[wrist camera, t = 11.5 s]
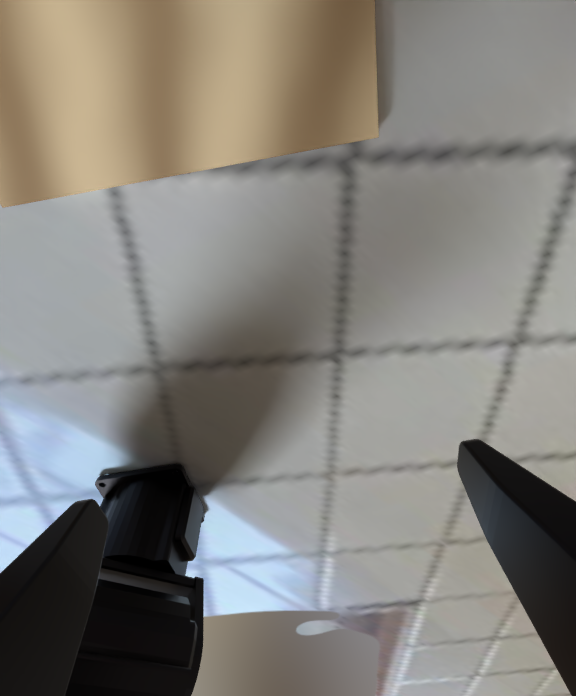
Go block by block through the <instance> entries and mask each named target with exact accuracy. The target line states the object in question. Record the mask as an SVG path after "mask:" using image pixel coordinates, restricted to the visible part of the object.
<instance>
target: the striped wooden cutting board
mask: <svg viewBox="0 0 576 696" xmlns="http://www.w3.org/2000/svg"><path fill="white" fill-rule="evenodd" d="M378 137H379V132H378V99H377V65H376V32H375V0H0V204H1V206H2V208H4V207H9V206H15V205H20V204H25V203H31V202H36V201H41V200H47V199H52V198H57V197H63V196H68V195H73V194H79V193H84V192H89V191H95V190H100V189H106V188H111V187H116V186H122V185H127V184H132V183H138V182H143V181H148V180H154V179H159V178H164V177H170V176H175V175H180V174H186V173H191V172H196V171H202V170H207V169H212V168H218V167H223V166H228V165H234V164H239V163H244V162H250V161H255V160H260V159H266V158H271V157H276V156H282V155H287V154H292V153H298V152H303V151H308V150H314V149H319V148H324V147H330V146H335V145H340V144H346V143H351V142H356V141H362V140H367V139H372V138H378Z"/></svg>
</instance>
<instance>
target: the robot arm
mask: <svg viewBox="0 0 576 696" xmlns="http://www.w3.org/2000/svg"><path fill="white" fill-rule="evenodd" d="M457 468H458V472H459V475H460V478H461V480H462V483H463V485H464V487H465V490H466V492H467V495H468V497H469V499H470V502H471V504H472V506H473V509H474V511H475V514H476V516H477V518H478V521H479V523H480V526H481V528H482V530H483V532H484V535H485V537H486V539H487V541H488V543H489V545H490V547H491V549H492V550H493V552H494V554H495V556H496V558H497V560H498V561H499V563H500V565H501V567H502V569H503V571H504V572H505V574H506V576H507V578H508V580H509V582H510V583H511V585H512V587H513V589H514V591H515V593H516V594H517V596H518V598H519V600H520V602H521V604H522V605H523V607H524V609H525V611H526V613H527V615H528V616H529V618H530V620H531V622H532V624H533V626H534V627H535V629H536V631H537V633H538V635H539V637H540V638H541V640H542V642H543V644H544V646H545V648H546V649H547V651H548V653H549V655H550V657H551V659H552V660H553V662H554V664H555V666H556V668H557V670H558V672H559V673H560V675H561V677H562V679H563V681H564V683H565V684H566V686H567V688H568V690H569V692H570V694H571V695H572V696H576V501H574V500H573V499H571V498H569V497H568V496H566V495H565V494H563V493H562V492H560V491H559V490H557V489H556V488H554V487H552V486H551V485H549V484H548V483H546V482H545V481H543V480H542V479H540V478H539V477H537V476H535V475H534V474H532V473H531V472H529V471H528V470H526V469H525V468H523V467H522V466H520V465H518V464H517V463H515V462H514V461H512V460H511V459H509V458H508V457H506V456H504V455H503V454H501V453H500V452H498V451H497V450H495V449H494V448H492V447H491V446H489V445H487V444H486V443H484V442H483V441H481V440H479V439H473V440H466V441H462V442H461V443H460V445H459V453H458V462H457ZM95 485H96V487H97V489H98V490H99V492H100V493H101V495H102V496H103V498H104V499H103V501H102V503H101V506H99V505H98V504H97V502H96V501H95V500H93V499H88V500H81V501H77V502H75V503H74V504H72V505H71V506H70V507H69V508H68V509H67V510H66V511H65V512H64V513H63V514H62V515H61V516H60V517H59V518H58V519H57V520H56V521H54V522H53V523H52V524H51V525H50V526H49V527H48V528H47V529H46V530H45V531H44V532H43V533H42V534H41V535H40V536H39V537H38V538H37V539H36V540H35V541H34V542H33V543H32V544H30V545H29V546H28V547H27V548H26V549H25V550H24V551H23V552H22V553H21V554H20V555H19V556H18V557H17V558H16V559H15V560H14V561H13V562H12V563H11V564H10V565H9V566H7V567H6V568H5V569H4V570H3V571H2V572H1V573H0V696H191V694H192V692H193V689H194V686H195V683H196V679H197V676H198V671H199V667H200V662H201V657H202V649H203V578H199V577H195V578H192V577H188V576H185V574H186V569H187V563H188V561H193V559H194V558H195V557H196V551H197V545H198V539H199V533H200V527H201V523H202V522H203V521H204V517H205V514H204V512H203V510H204V507H203V505H202V503H201V501H200V498H199V496H198V494H197V492H196V489H195V488H194V487H193V486H192V485H191V483H190V481H189V479H188V476H187V474H186V472H185V470H184V468H183V466H181V465H179V464H173V465H167V466H161V467H154V468H148V469H142V470H135V471H129V472H123V473H117V474H110V475H104V476H100V477H98V479H97V481H96V483H95Z"/></svg>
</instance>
